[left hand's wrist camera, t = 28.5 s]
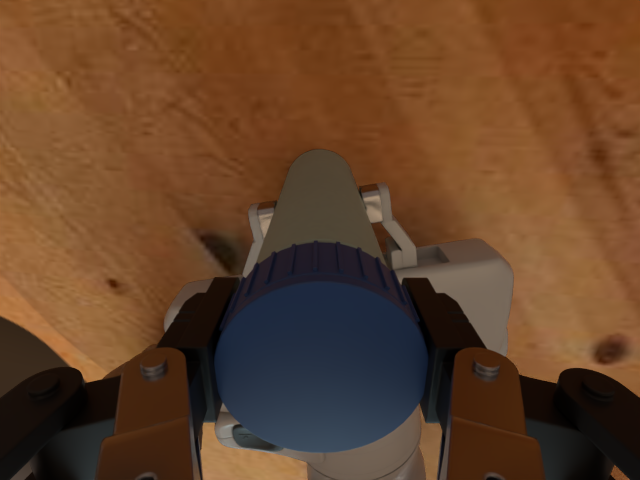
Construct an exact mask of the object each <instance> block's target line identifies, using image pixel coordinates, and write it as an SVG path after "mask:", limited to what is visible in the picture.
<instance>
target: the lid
mask: <svg viewBox="0 0 640 480" xmlns="http://www.w3.org/2000/svg"><path fill="white" fill-rule="evenodd" d="M419 321H420V320H419V317H418V315H417V313H416V310H415V308H414V306H413V303H412V301H411V299H410V296H409V294H408V292H407V289H406V287H405V285H403V286H401V284H400V282H399V280H398V278H397V275H396V273H395V271H394V270H391V271H390V270H389V269H388V268H387V267H386V266H385V265H384V264H383V263H381V260H380V258H379V257H376V258H375V257H373V256H371V255H369V254H368V253H366V252H364V251H362V249H361V248H360V247H358V248H357V249H356V248H354V247H350V246H346V245H343V244H340V242H337V241H336V243H325V242H318V240H315V241H314V243H305V244H300V245H296V244H292V246H291V247H289V248H286V249H283V250H281V251H279V252H277V253H276V252H275V251H274V252H272V253H271V256H269V257H268V258H266V259H265V260H263V261H262V262H260V263H258V262H257V263H256V264H255V265H254V267H253V270H252V271H251V272H250V273H249V274H248V275H247V277H246V278H245V277H243V278H242V279H241V281H240V284H239V286H238V289H237V291H236V293H234V294H233V296H232V299H231V301H230V304H229V306H228V308H227V311H226V313H225V316H224V318H223V321H222V323H221V325H220V328H219V331H222V332H221V335H220V337H219V340H218V342H217V345H216V349H215V353H214V365H215V373H216V381H217V388H218V393H219V396H220V398H221V400H222V402H223V404H224V405H225V407H226V408H227V410H228V411H229V412H230V414H231V415H232V416H233V417H234V419H235V420H237V421H238V422H239V423H240V424H241V425H242V426H243V427H244V428H246V429H247V430H248V431H250V432H251V433H252V434H254V435H256V436H258V437H259V438H261V439H263V440H265V441H267V442H269V443H272V444H274V445H277V446H280V447H283V448H286V449H291V450H295V451H301V452H309V453H332V452H341V451H347V450H352V449H355V448H359V447H362V446H365V445H368V444H370V443H373V442H375V441H377V440H379V439H381V438H383V437H385V436H386V435H388V434H389V433H391V432H393V431H394V430H395V429H397V428H398V427H399V426H400V425H401V424H403V423H404V422H405V421H406V420H407V419H408V417H409V416H410V415H411V414H412V413H413V412H414V410H415V409H416V407H417V406H418V404H419V403H420V401H421V399H422V397H423V395H424V390H425V382H426V375H427V367H428V359H429V356H428V349H427V346H426V343H425V340H424V335H423V333H422V330H421V328H420V326H419V323H418V322H419Z"/></svg>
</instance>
